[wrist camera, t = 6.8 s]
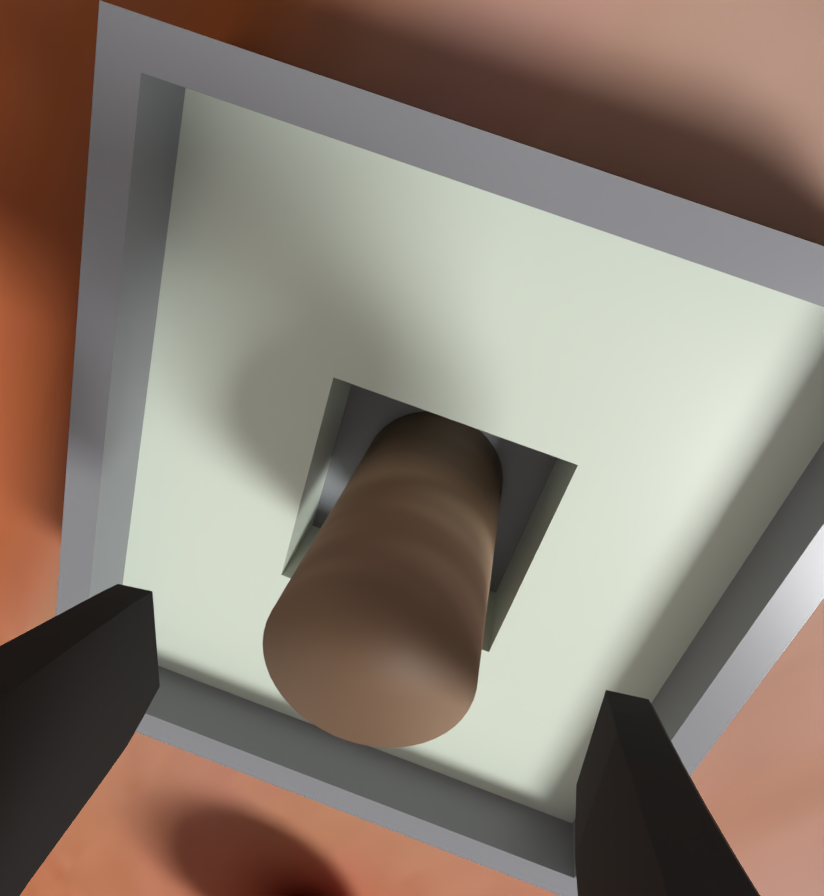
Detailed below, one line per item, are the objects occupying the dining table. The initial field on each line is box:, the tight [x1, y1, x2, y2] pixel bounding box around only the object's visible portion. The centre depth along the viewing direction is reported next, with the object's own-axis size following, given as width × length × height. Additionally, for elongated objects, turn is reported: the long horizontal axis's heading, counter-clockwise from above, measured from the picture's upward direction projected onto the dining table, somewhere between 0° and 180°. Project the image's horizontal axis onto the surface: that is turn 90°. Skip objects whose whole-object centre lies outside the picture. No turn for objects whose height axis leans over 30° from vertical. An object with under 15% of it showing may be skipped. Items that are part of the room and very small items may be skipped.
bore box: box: [56, 0, 824, 896], centre depth 16 cm, size 15×16×4 cm
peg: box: [263, 411, 503, 748], centre depth 14 cm, size 4×4×7 cm
